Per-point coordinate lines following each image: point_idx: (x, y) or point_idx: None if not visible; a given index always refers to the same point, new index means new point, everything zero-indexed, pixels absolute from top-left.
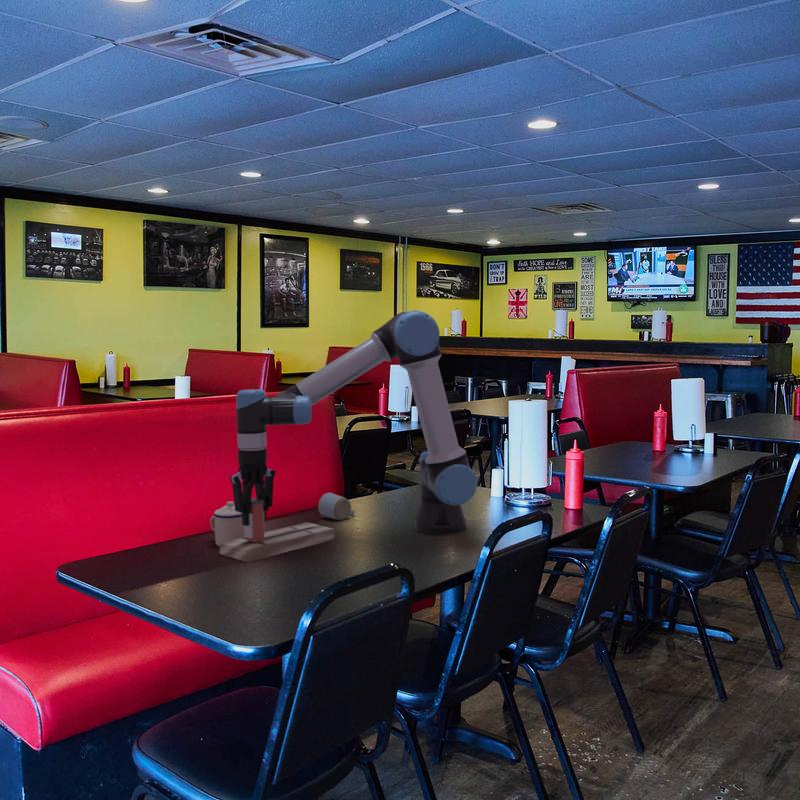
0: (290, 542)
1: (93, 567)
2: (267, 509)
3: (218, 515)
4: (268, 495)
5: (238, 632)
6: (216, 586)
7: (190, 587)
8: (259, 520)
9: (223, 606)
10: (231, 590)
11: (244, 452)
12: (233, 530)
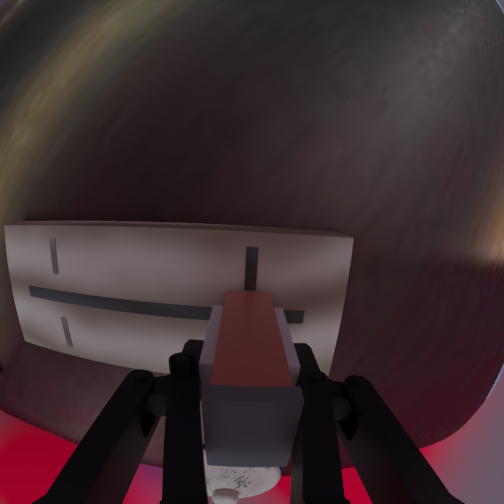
0: (149, 225)
1: (463, 407)
2: (180, 356)
3: (280, 472)
4: (132, 426)
5: (495, 13)
6: (476, 144)
7: (498, 188)
8: (246, 331)
9: (494, 68)
10: (469, 100)
11: None
12: None
